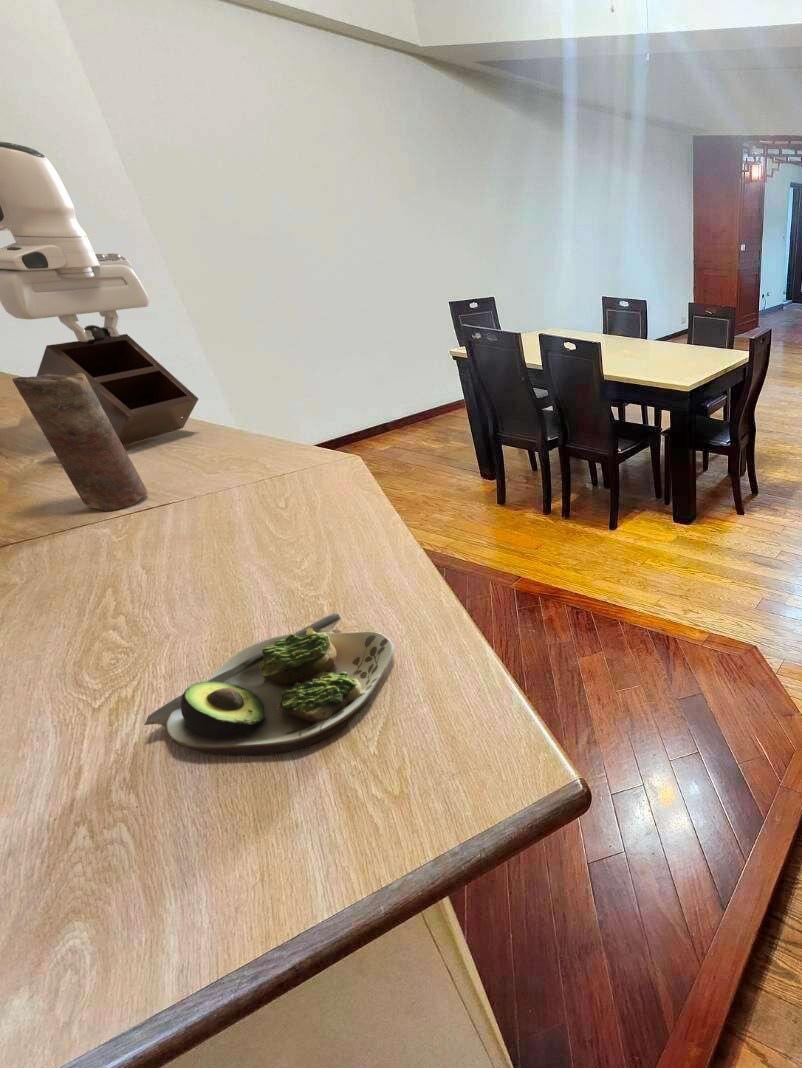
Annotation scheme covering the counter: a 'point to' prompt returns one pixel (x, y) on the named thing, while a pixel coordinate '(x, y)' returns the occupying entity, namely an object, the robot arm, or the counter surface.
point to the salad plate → (280, 693)
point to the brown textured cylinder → (82, 439)
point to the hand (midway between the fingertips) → (99, 339)
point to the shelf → (124, 384)
